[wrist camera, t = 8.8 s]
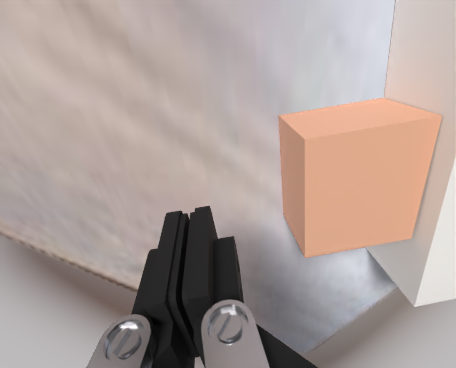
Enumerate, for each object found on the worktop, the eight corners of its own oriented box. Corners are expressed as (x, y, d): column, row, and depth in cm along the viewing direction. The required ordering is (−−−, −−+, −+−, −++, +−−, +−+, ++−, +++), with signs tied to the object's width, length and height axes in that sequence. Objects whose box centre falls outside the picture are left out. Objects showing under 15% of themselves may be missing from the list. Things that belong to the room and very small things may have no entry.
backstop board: (483, -96, 13) (672, -187, 8) (409, 239, 24) (469, 295, 19) (405, -82, 13) (543, -164, 8) (366, 248, 24) (414, 306, 19)
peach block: (381, 97, 18) (442, 115, 13) (367, 198, 21) (411, 238, 17) (277, 114, 17) (304, 139, 13) (282, 213, 21) (304, 257, 17)
